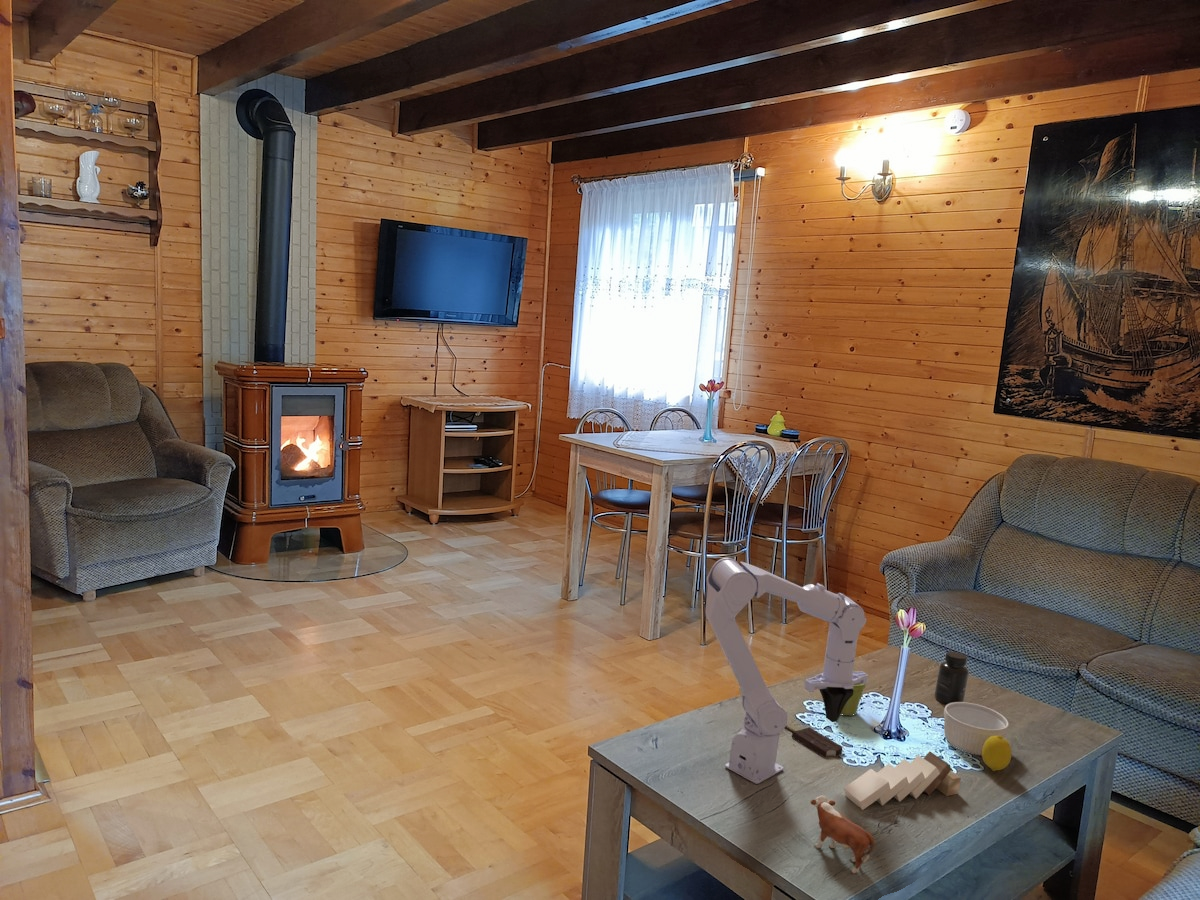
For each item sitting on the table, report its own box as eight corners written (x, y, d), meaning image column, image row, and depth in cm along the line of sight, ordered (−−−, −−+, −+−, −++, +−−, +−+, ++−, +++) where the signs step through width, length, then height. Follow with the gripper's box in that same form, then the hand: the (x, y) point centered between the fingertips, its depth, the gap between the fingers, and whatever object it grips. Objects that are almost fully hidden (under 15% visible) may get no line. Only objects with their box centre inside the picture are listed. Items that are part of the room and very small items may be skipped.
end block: (946, 795, 171) (949, 779, 170) (920, 777, 177) (923, 761, 177) (958, 793, 172) (960, 777, 172) (931, 774, 178) (934, 759, 178)
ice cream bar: (775, 728, 193) (827, 760, 181) (776, 721, 193) (828, 753, 181) (791, 723, 196) (844, 755, 184) (792, 716, 196) (845, 748, 184)
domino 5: (925, 790, 170) (947, 763, 171) (907, 777, 174) (929, 751, 175) (929, 795, 170) (951, 769, 172) (911, 782, 175) (933, 756, 176)
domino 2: (879, 798, 165) (906, 776, 167) (862, 784, 169) (888, 763, 171) (882, 805, 165) (909, 783, 167) (865, 791, 170) (891, 770, 172)
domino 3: (896, 795, 166) (922, 771, 168) (879, 781, 171) (904, 758, 172) (899, 801, 167) (925, 778, 169) (882, 788, 171) (907, 765, 173)
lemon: (1005, 780, 179) (1012, 745, 178) (977, 771, 182) (983, 736, 180) (1009, 770, 184) (1015, 735, 182) (981, 760, 186) (987, 726, 185)
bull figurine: (815, 829, 156) (821, 787, 154) (874, 873, 145) (882, 829, 143) (797, 835, 153) (804, 792, 152) (856, 881, 142) (864, 836, 141)
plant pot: (815, 710, 203) (821, 675, 201) (830, 697, 211) (835, 664, 209) (855, 724, 198) (860, 689, 196) (868, 710, 205) (873, 676, 204)
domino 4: (912, 792, 168) (936, 767, 169) (894, 779, 172) (918, 754, 174) (916, 798, 169) (940, 773, 170) (898, 785, 173) (921, 760, 175)
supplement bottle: (967, 708, 212) (976, 662, 210) (940, 705, 212) (948, 659, 210) (957, 695, 219) (964, 650, 217) (930, 692, 219) (937, 648, 217)
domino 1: (860, 802, 162) (888, 781, 165) (843, 788, 167) (871, 768, 169) (862, 810, 163) (890, 789, 165) (845, 796, 167) (873, 776, 170)
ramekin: (942, 751, 189) (948, 721, 188) (936, 724, 202) (941, 696, 201) (1008, 765, 186) (1013, 735, 185) (997, 737, 198) (1003, 708, 197)
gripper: (823, 668, 167) (815, 734, 169) (882, 660, 173) (873, 723, 175) (801, 654, 173) (793, 717, 175) (858, 646, 179) (849, 708, 182)
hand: (831, 719), depth 176 cm, fingers closed
